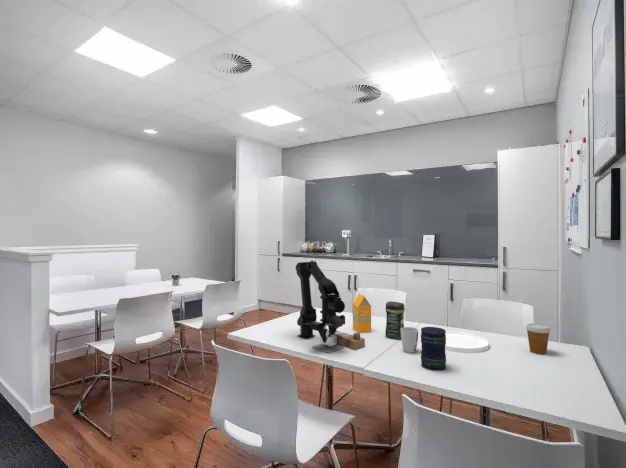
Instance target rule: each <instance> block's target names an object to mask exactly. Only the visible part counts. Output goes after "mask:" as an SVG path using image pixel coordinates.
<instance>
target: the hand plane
mask: <svg viewBox="0 0 626 468" xmlns="http://www.w3.org/2000/svg"><path fill="white" fill-rule="evenodd" d="M326 333H329V329H328V330H327V332H326ZM335 335H336V336H337V344H336V345H339V346H342V347H344V348H348V349H351V350H353V351H356V350H359V349H363V348H365V347H366V339H365V338H364V337H361V333H357V332H354V333H353V334H351V333H350V334H349V333H347V332H344V331H341V330H336V332H335Z"/></svg>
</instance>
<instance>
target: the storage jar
mask: <svg viewBox="0 0 626 468" xmlns="http://www.w3.org/2000/svg"><path fill="white" fill-rule="evenodd" d="M446 331H447V330H446V329H444V328H441V327H436V326H424V327H421V328H420V342H421V351H420V360H421V363H420V365H421V367H422V368H423V369H426V370H429V371H432V372H433V371H435V372H439V371H445V370H446V368H447V365H446V363H447V353H446V350H445V345H446V334H445V333H446Z"/></svg>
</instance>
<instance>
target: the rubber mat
mask: <svg viewBox="0 0 626 468" xmlns="http://www.w3.org/2000/svg"><path fill="white" fill-rule="evenodd" d="M311 348H312V349H315V350H318V351H320V352H323V353H326V354H331V353H333V352H336V351H339V350H342V349H345V347H344V346H341V345H338V344H335V345H332V346H328V345H325V344H322V343H319V344H317V345H313V346H311Z"/></svg>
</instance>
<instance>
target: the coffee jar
mask: <svg viewBox="0 0 626 468" xmlns="http://www.w3.org/2000/svg"><path fill="white" fill-rule="evenodd" d="M384 311H385V314H386V324H385V337H387V338H390V339H393V340H401V330H400V329H401V328H403V327H405V324H404V315H405V304H404V303H403V302H399V301H398V302H397V301H387V302H386V303H385V310H384Z"/></svg>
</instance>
